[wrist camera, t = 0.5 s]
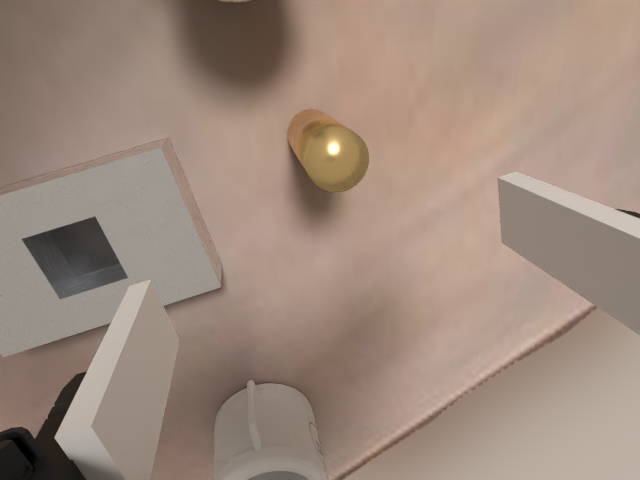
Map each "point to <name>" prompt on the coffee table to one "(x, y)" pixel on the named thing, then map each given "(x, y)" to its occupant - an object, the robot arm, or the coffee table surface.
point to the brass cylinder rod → (328, 150)
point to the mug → (234, 0)
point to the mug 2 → (267, 436)
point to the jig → (98, 244)
